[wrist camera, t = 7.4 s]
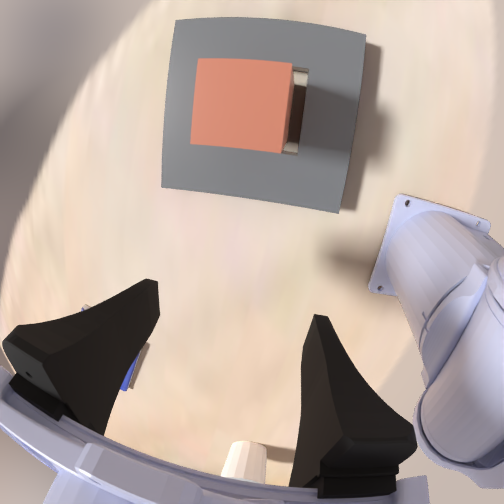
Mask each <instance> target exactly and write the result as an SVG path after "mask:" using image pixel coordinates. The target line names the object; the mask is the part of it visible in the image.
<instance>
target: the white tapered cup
mask: <svg viewBox="0 0 504 504" xmlns="http://www.w3.org/2000/svg"><path fill="white" fill-rule="evenodd" d="M266 459H267V449H266V447H264V446H263V445H261V444H258V443H255V442H250V441H237V442H234V443H233V444H232V446H231V449H230V451H229V454H228V457H227V459H226V462H225V465H224V468H223V470H222V473H221V475H220V476H222V477H226V478H231V479H236V480H242V481H248V482H254V483H261V484H265V477H266Z"/></svg>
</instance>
